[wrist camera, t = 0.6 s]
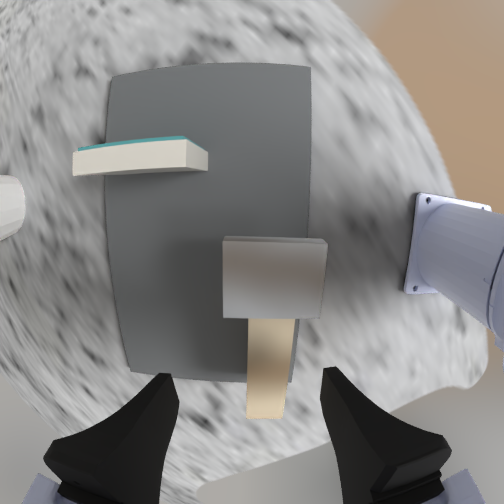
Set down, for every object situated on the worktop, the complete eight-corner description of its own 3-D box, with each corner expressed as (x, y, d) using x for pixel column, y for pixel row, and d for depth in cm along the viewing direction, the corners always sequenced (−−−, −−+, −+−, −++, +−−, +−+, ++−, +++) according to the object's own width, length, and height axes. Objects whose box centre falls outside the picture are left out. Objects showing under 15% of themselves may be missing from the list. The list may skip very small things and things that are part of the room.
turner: (292, 373, 21) (301, 417, 16) (231, 373, 21) (226, 417, 16) (307, 226, 18) (328, 243, 13) (230, 224, 18) (222, 241, 13)
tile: (208, 149, 16) (186, 134, 11) (207, 170, 17) (185, 166, 11) (123, 154, 16) (73, 148, 11) (122, 174, 17) (72, 175, 11)
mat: (309, 70, 15) (310, 67, 15) (290, 377, 22) (291, 382, 21) (115, 79, 15) (112, 76, 15) (133, 367, 22) (130, 371, 21)
